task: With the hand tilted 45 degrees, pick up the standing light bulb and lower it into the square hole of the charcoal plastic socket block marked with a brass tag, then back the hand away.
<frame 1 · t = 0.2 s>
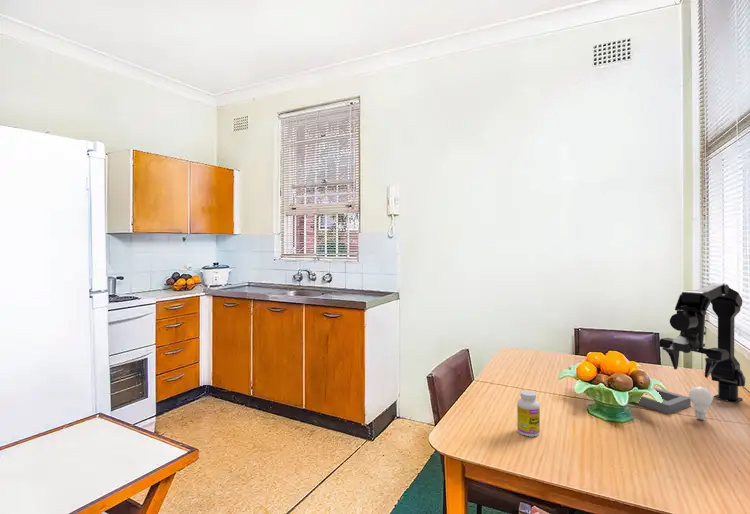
hand: (690, 373, 141), 14 cm above the table, tool pointing down, fingers open, 9 cm apart
lightbulb: (700, 420, 137), on the table
supplement bottle: (528, 433, 131), on the table
socket block: (661, 403, 152), on the table
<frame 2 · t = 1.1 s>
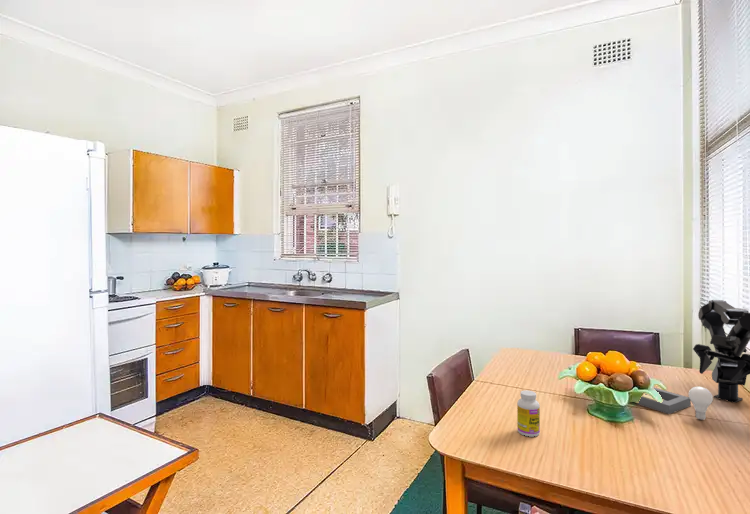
hand: (715, 376, 139), 13 cm above the table, tool tilted 45°, fingers open, 9 cm apart
nothing on the table moved.
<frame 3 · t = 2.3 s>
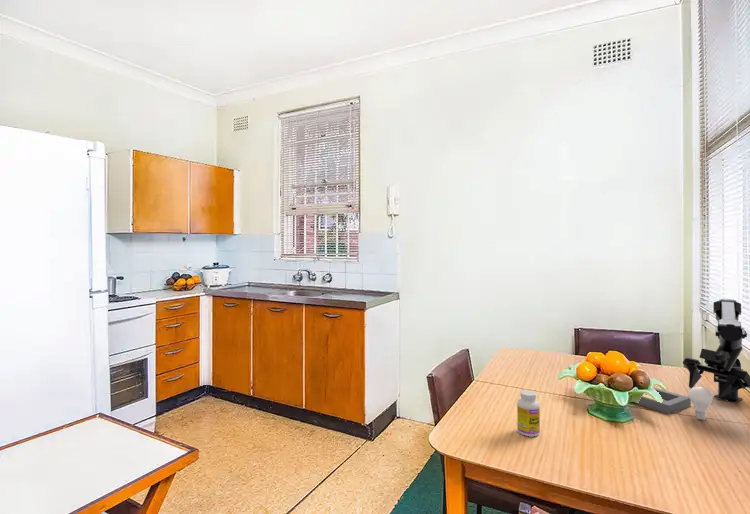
hand: (704, 391, 137), 9 cm above the table, tool tilted 45°, fingers open, 9 cm apart
nothing on the table moved.
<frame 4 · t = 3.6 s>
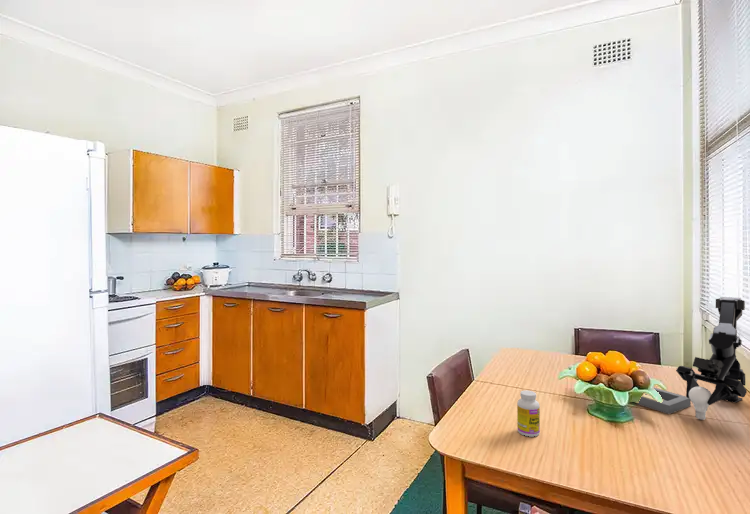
hand: (697, 400, 137), 7 cm above the table, tool tilted 45°, fingers closed on lightbulb, 6 cm apart
lightbulb: (700, 420, 137), on the table, touching gripper
everything else where it was.
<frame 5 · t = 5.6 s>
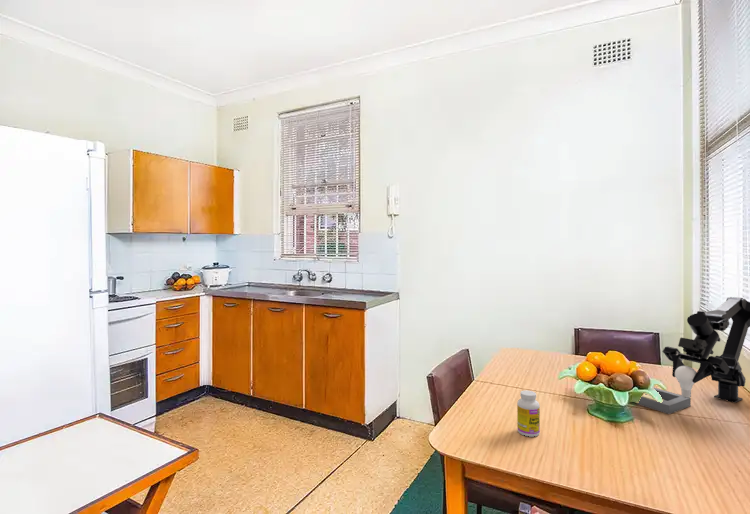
hand: (683, 379, 142), 12 cm above the table, tool tilted 45°, fingers closed on lightbulb, 6 cm apart
lightbulb: (686, 398, 142), point 5 cm above the table, touching gripper
everything else where it was.
when the fingers open (8 cm above the table, at t = 7.9 s): lightbulb drops 1 cm, resting in socket block.
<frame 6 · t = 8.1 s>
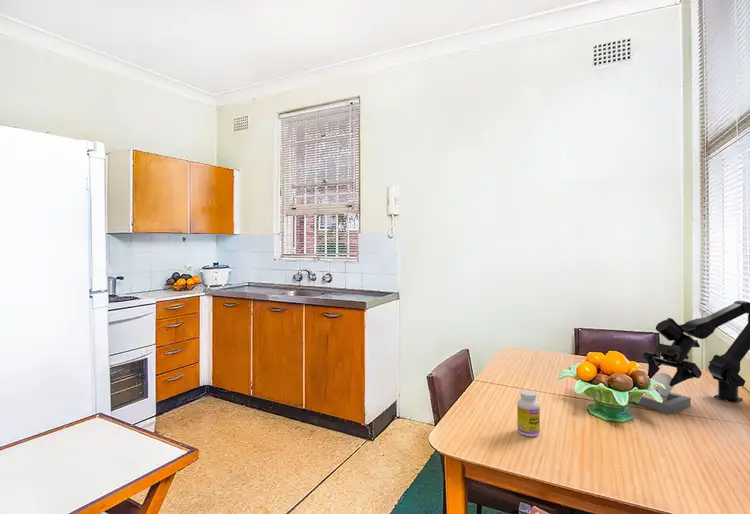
hand: (659, 382, 151), 8 cm above the table, tool tilted 45°, fingers open, 8 cm apart
lightbulb: (662, 403, 152), resting in socket block
everything else where it was.
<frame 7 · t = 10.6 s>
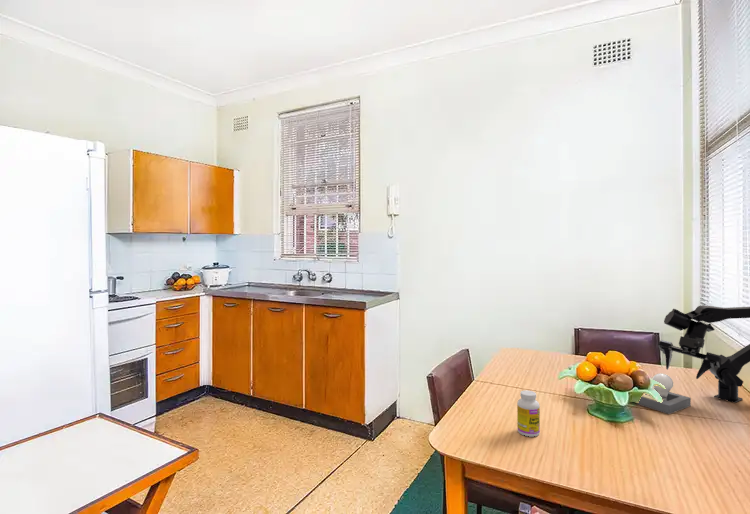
hand: (681, 373, 152), 10 cm above the table, tool tilted 35°, fingers open, 9 cm apart
nothing on the table moved.
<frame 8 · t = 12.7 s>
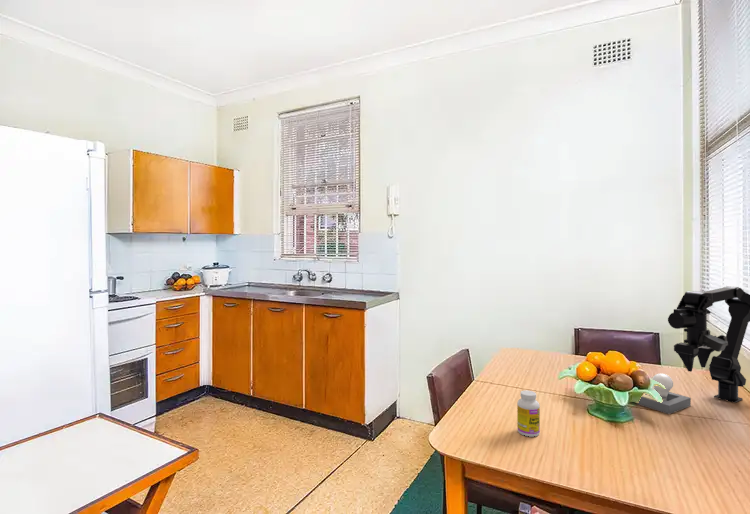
hand: (696, 369, 149), 13 cm above the table, tool pointing down, fingers open, 9 cm apart
nothing on the table moved.
at the end: lightbulb 0.3 cm off-centre on the socket block, point 0.0 cm above the socket block's base; lightbulb tilted 0°; the gripper is holding nothing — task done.
